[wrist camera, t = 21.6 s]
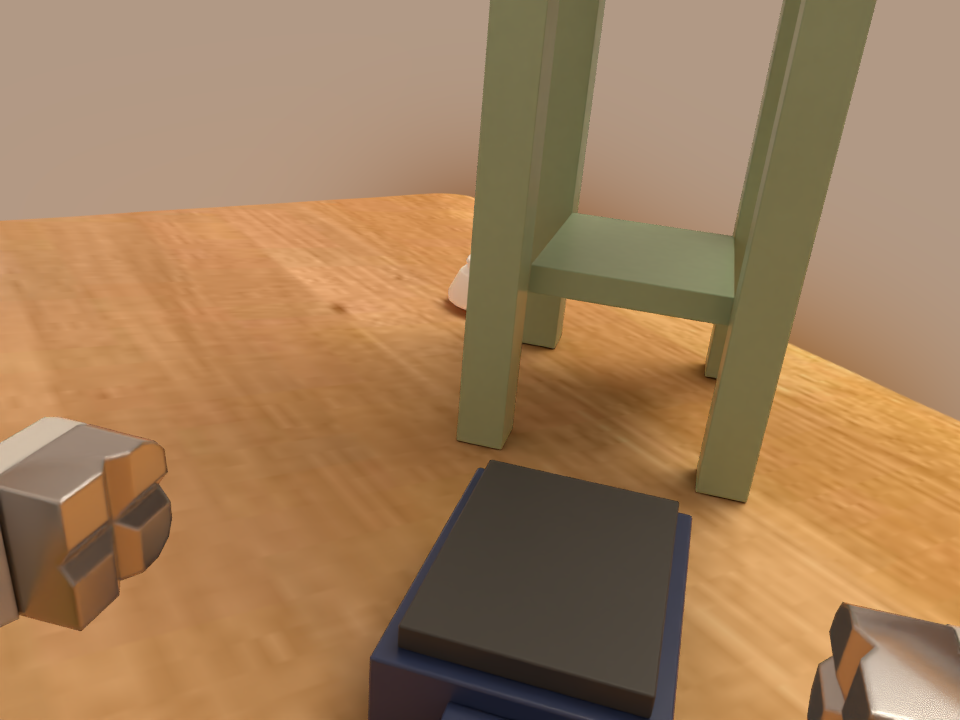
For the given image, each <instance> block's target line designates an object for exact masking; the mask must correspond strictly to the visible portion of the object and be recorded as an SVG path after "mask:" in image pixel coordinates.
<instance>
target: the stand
mask: <svg viewBox="0 0 960 720" xmlns="http://www.w3.org/2000/svg"><path fill="white" fill-rule="evenodd" d="M875 4H876V0H783V4H782V8H781V13H780V18H779V23H778V27H777V32H776V36H775V41H774V46H773V50H772V56H771V60H770V64H769V69H768V74H767V79H766V83H765V87H764V92H763V97H762V101H761V106H760V111H759V115H758V120H757V125H756V129H755V134H754V139H753V143H752V148H751V153H750V158H749V162H748V167H747V172H746V176H745V181H744V185H743V190H742V195H741V199H740V204H739V209H738V213H737V218H736V223H735V227H734V232H733V236H728V235H721V234H714V233H707V232H701V231H694V230H687V229H681V228H674V227H667V226H660V225H653V224H647V223H640V222H633V221H626V220H620V219H613V218H605V217H599V216H592V215H585V214H579V213H577V212H578V205H579V197H580V190H581V182H582V175H583V167H584V160H585V152H586V144H587V137H588V129H589V122H590V114H591V106H592V98H593V90H594V83H595V75H596V67H597V59H598V53H599V45H600V38H601V30H602V22H603V15H604V7H605V0H490V11H489V23H488V37H487V49H486V63H485V76H484V88H483V102H482V114H481V127H480V140H479V154H478V166H477V180H476V193H475V205H474V218H473V231H472V244H471V257H470V270H469V283H468V295H467V308H466V321H465V334H464V347H463V360H462V373H461V386H460V399H459V412H458V425H457V438H456V439H457V440H458V441H463V442H467V443H472V444H476V445H481V446H486V447H490V448H495V449H500V450H501V449H502V447H503V445H504V444H505V442H506V440H507V438H508V436H509V434H510V432H511V430H512V428H513V420H514V411H515V402H516V393H517V383H518V374H519V365H520V356H521V347H522V343H527V344H532V345H538V346H543V347H548V348H555V347H556V345H557V343H558V341H559V339H560V337H561V335H562V327H563V320H564V312H565V304H566V298H567V299H573V300H578V301H584V302H590V303H596V304H602V305H608V306H614V307H619V308H625V309H631V310H637V311H643V312H649V313H655V314H660V315H666V316H672V317H678V318H684V319H690V320H696V321H701V322H707V323H713V324H714V325H713V330H712V334H711V339H710V344H709V348H708V353H707V357H706V364H705V376H706V377H711V378H717V380H716V385H715V389H714V394H713V398H712V403H711V407H710V412H709V416H708V421H707V425H706V429H705V434H704V438H703V443H702V447H701V452H700V456H699V461H698V465H697V475H696V488H695V490H696V492H699V493H704V494H709V495H713V496H718V497H722V498H727V499H732V500H736V501H741V502H747V499H748V495H749V491H750V487H751V484H752V480H753V476H754V472H755V468H756V464H757V460H758V457H759V453H760V449H761V445H762V441H763V437H764V433H765V429H766V426H767V422H768V418H769V414H770V410H771V406H772V402H773V399H774V395H775V391H776V387H777V383H778V379H779V375H780V372H781V368H782V364H783V360H784V356H785V352H786V348H787V344H788V340H789V337H790V333H791V329H792V325H793V321H794V317H795V314H796V309H797V305H798V302H799V297H800V294H801V290H802V286H803V282H804V279H805V275H806V271H807V267H808V263H809V259H810V256H811V252H812V248H813V244H814V240H815V236H816V232H817V228H818V225H819V221H820V217H821V213H822V209H823V205H824V201H825V197H826V194H827V190H828V186H829V182H830V178H831V174H832V170H833V167H834V163H835V159H836V155H837V151H838V147H839V143H840V140H841V136H842V132H843V128H844V124H845V120H846V116H847V112H848V109H849V105H850V101H851V97H852V93H853V89H854V85H855V82H856V77H857V74H858V70H859V66H860V62H861V58H862V55H863V51H864V47H865V43H866V39H867V35H868V31H869V27H870V24H871V20H872V16H873V12H874V8H875Z"/></svg>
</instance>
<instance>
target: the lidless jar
mask: <svg viewBox="0 0 960 720" xmlns="http://www.w3.org/2000/svg"><path fill="white" fill-rule="evenodd" d="M470 257H471V254H470V255H469V256H468V258H467V264H466V265H464V266H463V267H462V268H461V269H460V270H459V272H458V274H457V275H456V277H455V279H454V280H453V282H452V284H451V285H450V287H449V291H448V297H449V300H450V301H451V302H452V303H453V304H454V305H456V306H457V307H459V308H461V309H464V310H466V308H467V295H468V283H469V270H470Z"/></svg>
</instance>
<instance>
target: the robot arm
mask: <svg viewBox="0 0 960 720" xmlns="http://www.w3.org/2000/svg"><path fill="white" fill-rule="evenodd" d="M167 472H168V471H167V464H166V457H165V450H164V448H162V447H161V446H160V445H159V444H158V443H157V442H155V441H153V440H149V439H146V438H142V437H138V436H134V435H130V434H126V433H122V432H118V431H115V430H111V429H107V428H103V427H99V426H95V425H91V424H89V425H88V424H86V423H83V422H79V421H74V420H70V419H66V418H62V417H44V418H42V419H40V420H39V421H37V422H35V423H33V424H32V425H30V426H28V427H27V428H25V429H23V430H21V431H20V432H18V433H16V434H14V435H13V436H11V437H9V438H8V439H6V440H4V441H2V442H1V443H0V627H2V626H4V625H6V624H8V623H10V622H13V621H15V620H17V619H18V618H19V615H21V616H25V617H29V618H33V619H36V620H40V621H44V622H48V623H52V624H55V625H59V626H63V627H67V628H71V629H74V630H78V631H82V630H83V629H84V628H85V627H86V626H87V625H88V624H89V623H90V622H91V621H93V620H94V619H95V618H96V617H97V616H98V615H99V614H100V613H101V612H102V611H103V610H104V609H105V608H106V607H107V606H108V605H109V604H111V603H112V602H113V601H114V600H115V599H116V598H117V597H118V596H119V592H120V581H121V580H124V579H126V578H129V577H132V576H135V575H137V574H140V573H143V572H144V571H145V570H146V569H147V568H148V567H149V566H150V565H151V564H152V563H153V562H154V561H155V560H156V559H157V558H158V557H159V555H160V553H161V551H162V549H163V547H164V545H165V543H166V541H167V539H168V537H169V533H170V527H171V521H172V513H171V502H170V500H169V499H168V497H167V496H166V494H165V493H164V491H163V490H162V488H161V487H160V485H159V483H160V482H161V480H162V479H163V478H164V476H165V475H166V474H167ZM829 633H830V640H831V646H832V653H833V656H831V657H830V658H828V659H826V660H825V661H823V662H821V663H820V664H819V665H818V668H817V671H816V675H815V678H814V682H813V685H812V688H811V695H810V701H809V708H808V715H807V720H960V627H959V626H954V625H949V624H947V625H942V624H938V623H933V622H929V621H924V620H920V619H916V618H911V617H907V616H902V615H898V614H893V613H889V612H884V611H880V610H875V609H871V608H867V607H862V606H858V605H853V604H849V603H844V602H842V604H841V605H840V607H839V609H838V610H837V612H836V614H835V617H834V620H833V623H832V626H831V629H830V631H829Z"/></svg>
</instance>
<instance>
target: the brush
mask: <svg viewBox="0 0 960 720" xmlns="http://www.w3.org/2000/svg"><path fill="white" fill-rule="evenodd" d="M678 509H679V502H678V501H674V500H669V499H665V498H660V497H656V496H652V495H647V494H643V493H638V492H634V491H629V490H625V489H620V488H616V487H611V486H607V485H602V484H598V483H593V482H589V481H584V480H580V479H576V478H571V477H567V476H562V475H558V474H553V473H549V472H544V471H540V470H535V469H531V468H526V467H522V466H517V465H513V464H508V463H504V462H500V461H495V460H490V461H489V463H488V465H487V467H486V468H485V469H484V468H478V469H477V471H476V472H475V474H474V476H473V478H472V479H471V481H470V483H469V485H468V486H467V488H466V490H465V492H464V493H463V495H462V497H461V499H460V500H459V502H458V504H457V506H456V507H455V509H454V511H453V513H452V514H451V516H450V518H449V520H448V521H447V523H446V525H445V527H444V529H443V530H442V532H441V534H440V536H439V537H438V539H437V541H436V543H435V544H434V546H433V548H432V550H431V551H430V553H429V555H428V557H427V558H426V560H425V562H424V564H423V565H422V567H421V569H420V571H419V572H418V574H417V576H416V578H415V579H414V581H413V583H412V585H411V586H410V588H409V590H408V592H407V593H406V595H405V597H404V599H403V600H402V602H401V604H400V606H399V607H398V609H397V611H396V613H395V614H394V616H393V618H392V620H391V621H390V623H389V625H388V627H387V629H386V630H385V632H384V634H383V636H382V637H381V639H380V641H379V643H378V644H377V646H376V648H375V650H374V651H373V653H372V655H371V657H370V673H369V706H368V720H674V710H675V699H676V688H677V677H678V666H679V656H680V645H681V634H682V623H683V612H684V602H685V591H686V580H687V569H688V558H689V548H690V537H691V526H692V517H691V516H690V515H687V514H682V513H678Z"/></svg>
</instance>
